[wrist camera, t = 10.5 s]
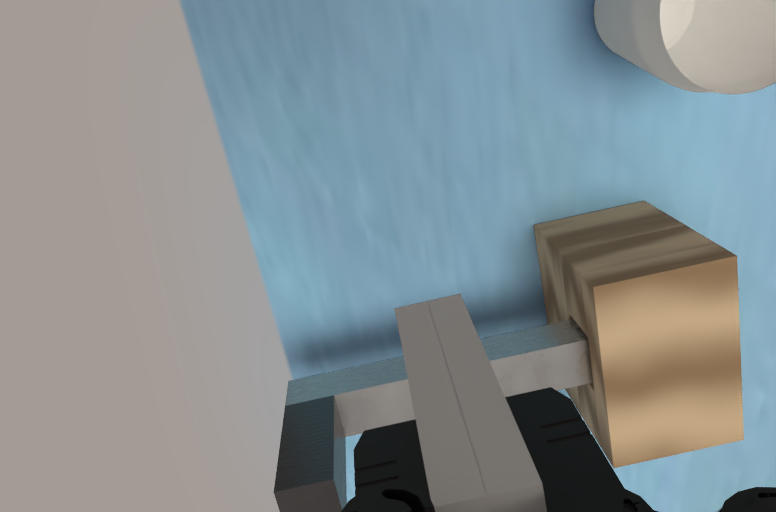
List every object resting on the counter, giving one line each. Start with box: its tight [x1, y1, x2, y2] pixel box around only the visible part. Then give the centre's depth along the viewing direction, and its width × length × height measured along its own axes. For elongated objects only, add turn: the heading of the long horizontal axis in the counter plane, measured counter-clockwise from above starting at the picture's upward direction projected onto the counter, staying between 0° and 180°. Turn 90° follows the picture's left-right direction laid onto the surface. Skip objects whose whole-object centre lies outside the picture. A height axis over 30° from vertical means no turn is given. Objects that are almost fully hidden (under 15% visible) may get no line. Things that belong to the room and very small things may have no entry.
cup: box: [594, 0, 776, 94], centre depth 39 cm, size 9×9×12 cm
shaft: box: [274, 319, 593, 512], centre depth 40 cm, size 3×25×11 cm, turn 102°
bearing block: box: [534, 201, 744, 468], centre depth 45 cm, size 12×8×12 cm, turn 12°
